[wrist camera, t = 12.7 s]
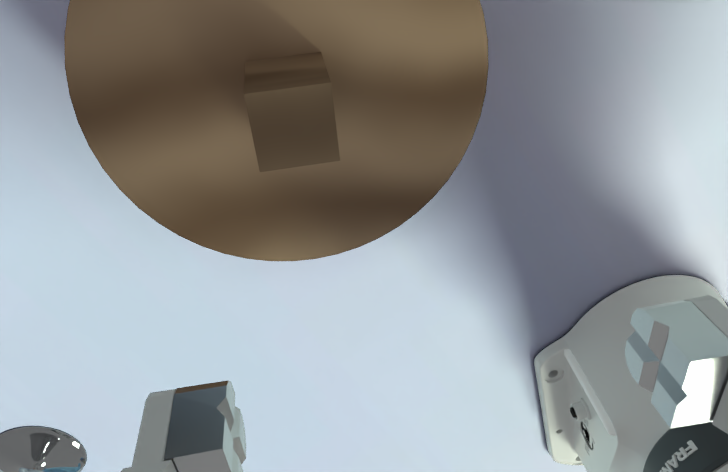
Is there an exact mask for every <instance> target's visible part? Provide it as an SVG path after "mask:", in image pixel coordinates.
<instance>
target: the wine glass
mask: <svg viewBox="0 0 728 472" xmlns="http://www.w3.org/2000/svg"><path fill="white" fill-rule="evenodd" d="M86 461H87V454H86V450H85V449H84V447H83V445H82V444H81V443H80V442H79V441H78V440H77V439H75V438H74V437H72V436H71V435H69V434H67V433H65V432H62V431H60V430H56V429H52V428H47V427H38V426H29V427H20V428H14V429H11V430H8V431H6V432H4V433H1V434H0V472H80V471H81V470H82V469H83V468H84V466H85V464H86Z"/></svg>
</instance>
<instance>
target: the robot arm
mask: <svg viewBox="0 0 728 472" xmlns="http://www.w3.org/2000/svg"><path fill="white" fill-rule="evenodd" d="M534 366H535V372H536V378H537V385H538V391H539V397H540V403H541V410H542V416H543V422H544V428H545V435H546V441H547V447H548V452H549V454H550V456H551V457H552V459H553V460H554V461H555V462H557V463H561V464H567V465H584V467H585V469H586V470H587V472H728V306H727V305H726V303H725V302H724V300H723V299H722V297H721V295H720V294H719V292H718V291H717V290H716V289H715V288H714V287H713V286H712V285H711V284H709V283H708V282H706V281H704V280H702V279H699V278H696V277H692V276H685V275H667V276H659V277H654V278H650V279H646V280H643V281H640V282H637V283H634V284H632V285H629V286H627V287H625V288H623V289H621V290H619V291H617V292H615V293H613V294H612V295H610V296H608V297H607V298H605V299H604V300H602V301H601V302H599V303H598V304H597V305H595V306H594V307H593V308H592V309H591V310H589V311H588V312H587V313H586V314H585V315H584V316H583V317H582V318H581V319H580V320H579V321H578V323H577V324H576V325H575V326H574V327H573V328H572V329H571V330H570V331H569V332H568V333H567V334H566V335H565V336H564V337H562V338H561V339H559V340H557V341H556V342H554V343H552V344H551V345H549V346H548V347H546V348H545V349H543V350H542V351H541V352H540V353H539V354H538V355H537V356H536V357H535V360H534ZM245 459H246V438H245V428H244V423H243V418H242V414H241V411H240V409H239V408H237V407H235V392H234V389H233V386H232V383H231V382H230V381H223V382H216V383H209V384H203V385H196V386H189V387H183V388H177V389H173V390H167V391H160V392H153V393H150V394H149V396H148V397H147V399H146V402H145V406H144V411H143V416H142V420H141V425H140V430H139V434H138V439H137V444H136V449H135V453H134V458H133V463H132V467H129V468H124V469H123V470H122V471H121V472H243V469H242V466H241V464H242V463H243V461H244V460H245Z"/></svg>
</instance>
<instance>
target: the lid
mask: <svg viewBox="0 0 728 472" xmlns="http://www.w3.org/2000/svg"><path fill="white" fill-rule="evenodd" d="M65 69H66V75H67V81H68V87H69V94H70V97H71V101H72V104H73V107H74V110H75V114H76V117H77V120H78V123H79V125H80V127H81V129H82V132H83V134H84V136H85V138H86V140H87V142H88V145H89V147H90V148H91V150H92V152H93V153H94V155H95V156H96V158H97V160H98V161H99V163H100V164H101V166H102V168H103V169H104V171H105V172H106V173H107V174H108V175H109V177H110V178H111V179H112V180H113V182H114V183H115V184H116V185H117V187H118V188H119V189H120V190H121V191H122V192H123V193H124V194H125V195H126V196H127V197H128V198H129V199H130V200H131V201H132V202H133V203H134V204H135V205H136V206H137V207H138V208H139V209H141V210H142V211H143V212H145V213H146V214H147V215H149V216H150V217H151V218H152V219H154V220H155V221H156V222H158V223H159V224H161V225H162V226H164V227H166V228H167V229H169V230H171V231H172V232H174V233H176V234H177V235H179V236H181V237H183V238H185V239H188V240H190V241H192V242H194V243H196V244H198V245H201V246H203V247H206V248H209V249H212V250H215V251H218V252H221V253H224V254H229V255H233V256H238V257H242V258H247V259H256V260H265V261H299V260H308V259H317V258H321V257H326V256H331V255H335V254H339V253H342V252H345V251H348V250H351V249H354V248H358V247H360V246H362V245H365V244H367V243H369V242H371V241H373V240H376V239H378V238H380V237H382V236H383V235H385V234H387V233H388V232H390V231H392V230H393V229H395V228H397V227H399V226H400V225H401V224H403V223H404V222H405V221H407V220H408V219H409V218H411V217H412V216H413V215H415V214H416V213H417V212H418V211H419V210H420V209H421V208H422V207H424V206H425V205H426V204H427V203H428V202H429V201H430V200H431V199H432V198H433V197H434V196H435V195H436V194H437V192H438V191H439V190H440V189H441V188H442V186H443V185H444V184H445V183H446V182H447V181H448V179H449V178H450V176H451V175H452V173H453V172H454V170H455V169H456V167H457V166H458V164H459V163H460V161H461V160H462V158H463V156H464V154H465V152H466V150H467V148H468V146H469V144H470V142H471V140H472V137H473V135H474V132H475V129H476V126H477V124H478V121H479V118H480V115H481V111H482V106H483V102H484V97H485V93H486V85H487V75H488V39H487V33H486V26H485V20H484V14H483V10H482V7H481V3H480V0H70V3H69V6H68V13H67V21H66V29H65Z"/></svg>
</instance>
